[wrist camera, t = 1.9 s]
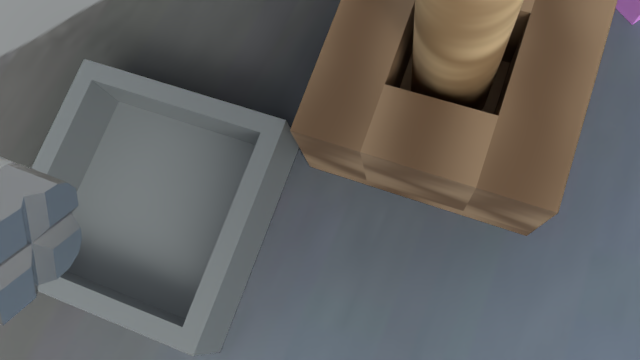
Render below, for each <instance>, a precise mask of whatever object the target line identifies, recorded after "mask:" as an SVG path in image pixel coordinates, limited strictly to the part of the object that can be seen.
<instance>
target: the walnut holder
mask: <svg viewBox="0 0 640 360" xmlns="http://www.w3.org/2000/svg"><path fill="white" fill-rule="evenodd" d="M617 1H618V0H524V1H523V4H522V6H521V9H520V12H519V14H518V17H517V20H516V22H515V25H514V28H513V30H512V33H511V36H510V38H509V41H508V44H507V46H506V49H505V52H504V54H503V57H502V60H501V62H500V65H499V68H498V70H497V73H496V76H495V78H494V81H493V84H492V86H491V89H490V92H489V94H488V97H487V100H486V102H485V105H484V107H483V109H482V111H480V110H476V109H473V108H469V107H465V106H462V105H458V104H455V103H451V102H447V101H444V100H440V99H437V98H433V97H429V96H426V95H422V94H419V93H415V92H411V83H412V59H413V36H414V12H415V0H341V1H340V3H339V6H338V9H337V11H336V14H335V16H334V19H333V21H332V24H331V26H330V29H329V32H328V34H327V37H326V39H325V42H324V44H323V47H322V49H321V52H320V55H319V57H318V60H317V62H316V65H315V67H314V70H313V72H312V75H311V78H310V80H309V83H308V85H307V88H306V90H305V93H304V95H303V98H302V101H301V103H300V106H299V108H298V111H297V113H296V116H295V118H294V121H293V124H292V126H291V129H290V132H291V133H292V135H293V137H294V139H295V140H296V142H297V144H298V146H299V148H300V149H301V151H302V153H303V155H304V156H305V158H306V160H307V162H308V164H309V165H310V167H313V168H316V169H319V170H322V171H326V172H329V173H332V174H335V175H338V176H341V177H344V178H347V179H351V180H354V181H357V182H360V183H363V184H366V185H369V186H372V187H376V188H379V189H382V190H385V191H388V192H391V193H394V194H397V195H400V196H404V197H407V198H410V199H413V200H416V201H419V202H422V203H425V204H429V205H432V206H435V207H438V208H441V209H444V210H447V211H450V212H454V213H457V214H460V215H463V216H466V217H469V218H472V219H475V220H479V221H482V222H485V223H488V224H491V225H494V226H497V227H500V228H503V229H507V230H510V231H513V232H516V233H519V234H522V235H525V236H527V235H528V234H530V233H531V232H532V231H534V230H535V229H537V228H538V227H539V226H541V225H542V224H543V223H545V222H546V221H548V220H549V219H550V218H552V217H553V216H555V215H556V214H557V213H558V211H559V208H560V204H561V201H562V197H563V193H564V190H565V186H566V183H567V179H568V176H569V172H570V168H571V165H572V161H573V158H574V154H575V151H576V147H577V143H578V140H579V136H580V133H581V129H582V126H583V122H584V118H585V115H586V111H587V108H588V104H589V101H590V97H591V93H592V90H593V86H594V83H595V79H596V76H597V72H598V68H599V65H600V61H601V58H602V54H603V51H604V47H605V43H606V40H607V36H608V33H609V29H610V26H611V22H612V18H613V15H614V11H615V8H616V4H617Z"/></svg>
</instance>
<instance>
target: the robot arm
mask: <svg viewBox="0 0 640 360" xmlns="http://www.w3.org/2000/svg"><path fill="white" fill-rule="evenodd" d="M78 206H79V204H78V198H77V191H76V188H75V187H73V186H72V185H70V184H69V183H67V182H65V181H62V180H60V179H57V178H55V177H52V176H50V175H47V174H45V173H42V172H40V171H37V170H35V169H32V168H29V167H27V166H24V165H22V164H19V163H18V164H17V163H15V162H12V161H10V160H7V159H5V158H2V157H0V324H1V325H4V324H5V323H7V322H8V321H9V320H10V319H11V318H13V317H14V316H15V315H16V314H17V313H18V312H20V311H21V310H22V309H23V308H24V307H25V306H27V305H28V304H29V303H30V302H31V301H32V300H34V299H35V298H36V296H37V291H38V286H39V285H40V284H44V283H47V282H50V281H54V280H57V279H58V278H59V277H60V276H61V275H63V274H64V273H65V272H66V271H67V270H68V269H69V268H70V267H71V265H72V263H73V262H74V260H75V258H76V257H77V255H78V253H79V250H80V246H81V241H82V235H81V227H80V225H79V223H78V222H77V220H76V219H75V217H74V216H73V214H72V212H73V211H74V210H75V209H76V208H77V207H78Z"/></svg>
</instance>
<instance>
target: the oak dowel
mask: <svg viewBox="0 0 640 360" xmlns="http://www.w3.org/2000/svg"><path fill="white" fill-rule="evenodd" d="M523 1H524V0H415V12H414V36H413V59H412V83H411V92H415V93H419V94H422V95H426V96H429V97H433V98H437V99H440V100H444V101H447V102H451V103H455V104H458V105H462V106H465V107H469V108H473V109H476V110H480V111H482V109H483V107H484V105H485V102H486V100H487V97H488V94H489V92H490V89H491V86H492V84H493V81H494V78H495V76H496V73H497V70H498V68H499V65H500V62H501V60H502V57H503V54H504V52H505V49H506V46H507V44H508V41H509V38H510V36H511V33H512V30H513V28H514V25H515V22H516V20H517V17H518V14H519V12H520V9H521V6H522V4H523Z"/></svg>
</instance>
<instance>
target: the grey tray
mask: <svg viewBox="0 0 640 360" xmlns="http://www.w3.org/2000/svg"><path fill="white" fill-rule="evenodd" d="M290 129H291V128H290V126H289V124H288V123H287V121H286V120H284V119H281V118H277V117H274V116H271V115H268V114H264V113H261V112H258V111H254V110H251V109H248V108H245V107H241V106H238V105H235V104H231V103H228V102H225V101H222V100H218V99H215V98H212V97H208V96H205V95H202V94H199V93H195V92H192V91H189V90H185V89H182V88H179V87H176V86H172V85H169V84H166V83H162V82H159V81H156V80H153V79H149V78H146V77H143V76H139V75H136V74H133V73H130V72H126V71H123V70H120V69H116V68H113V67H110V66H107V65H103V64H100V63H97V62H93V61H90V60H87V59H84V60H83V62H82V64H81V66H80V68H79V70H78V72H77V75H76V77H75V79H74V81H73V83H72V85H71V87H70V89H69V91H68V93H67V95H66V97H65V99H64V101H63V103H62V106H61V108H60V110H59V112H58V114H57V116H56V118H55V120H54V122H53V124H52V126H51V128H50V130H49V132H48V134H47V137H46V139H45V141H44V143H43V145H42V147H41V149H40V151H39V153H38V155H37V157H36V159H35V161H34V163H33V166H32V169H35V170H37V171H40V172H42V173H45V174H47V175H50V176H52V177H55V178H57V179H60V180H62V181H65V182H67V183H69V184H70V185H72V186H73V187H75V188H76V191H77V198H78V204H79V206H78V207H77V208H76V209H75V210H74V211H73V212H72V214H73V216H74V217H75V219H76V220H77V222H78V223H79V225H80V227H81V235H82V241H81V246H80V250H79V253H78V255H77V257H76V258H75V260H74V262H73V263H72V265H71V267H70V268H69V269H68V270H67V271H66V272H65V273H64V274H63V275H61V276H60V277H59V278H58V279H57V280H54V281H50V282H47V283H44V284H40V285H39V286H38V291H39V292H41V293H43V294H46V295H48V296H51V297H53V298H55V299H58V300H60V301H62V302H65V303H67V304H70V305H72V306H74V307H77V308H79V309H82V310H84V311H86V312H89V313H91V314H93V315H96V316H98V317H101V318H103V319H105V320H108V321H110V322H112V323H115V324H117V325H120V326H122V327H124V328H127V329H129V330H132V331H134V332H136V333H139V334H141V335H143V336H146V337H148V338H151V339H153V340H155V341H158V342H160V343H163V344H165V345H167V346H170V347H172V348H174V349H177V350H179V351H182V352H184V353H186V354H189V355H191V356H198V355H205V354H212V353H219V352H220V351H221V349H222V346H223V344H224V341H225V338H226V336H227V333H228V331H229V328H230V325H231V323H232V320H233V318H234V315H235V313H236V310H237V307H238V305H239V302H240V300H241V297H242V294H243V292H244V289H245V287H246V284H247V281H248V279H249V276H250V274H251V271H252V268H253V266H254V263H255V261H256V258H257V255H258V253H259V250H260V248H261V245H262V242H263V240H264V237H265V235H266V232H267V230H268V227H269V224H270V222H271V219H272V217H273V214H274V211H275V209H276V206H277V204H278V201H279V198H280V196H281V193H282V191H283V188H284V185H285V183H286V180H287V178H288V175H289V172H290V170H291V167H292V165H293V162H294V159H295V157H296V154H297V152H298V149H299V146H298V144H297V142H296V140H295V139H294V137H293V135H292V133H291V132H290Z"/></svg>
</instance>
